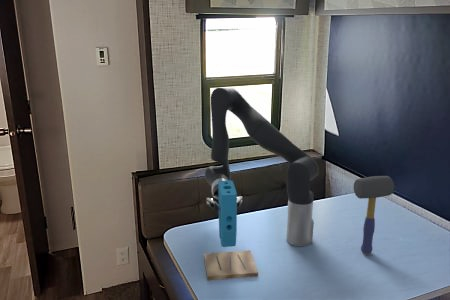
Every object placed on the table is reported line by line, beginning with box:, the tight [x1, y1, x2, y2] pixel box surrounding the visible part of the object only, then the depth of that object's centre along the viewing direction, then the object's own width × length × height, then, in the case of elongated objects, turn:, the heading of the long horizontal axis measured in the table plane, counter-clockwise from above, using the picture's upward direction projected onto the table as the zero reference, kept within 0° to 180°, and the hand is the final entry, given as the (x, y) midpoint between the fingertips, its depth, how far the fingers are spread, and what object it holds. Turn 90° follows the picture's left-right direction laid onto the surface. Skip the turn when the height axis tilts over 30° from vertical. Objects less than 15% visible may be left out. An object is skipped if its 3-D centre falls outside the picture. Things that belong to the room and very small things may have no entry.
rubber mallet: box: [353, 175, 395, 256], centre depth 155 cm, size 12×8×30 cm, turn 103°
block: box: [218, 179, 238, 248], centre depth 149 cm, size 12×5×20 cm, turn 6°
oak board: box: [203, 249, 259, 281], centre depth 151 cm, size 17×14×2 cm
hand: (227, 212), depth 148 cm, fingers closed on block, 2 cm apart
